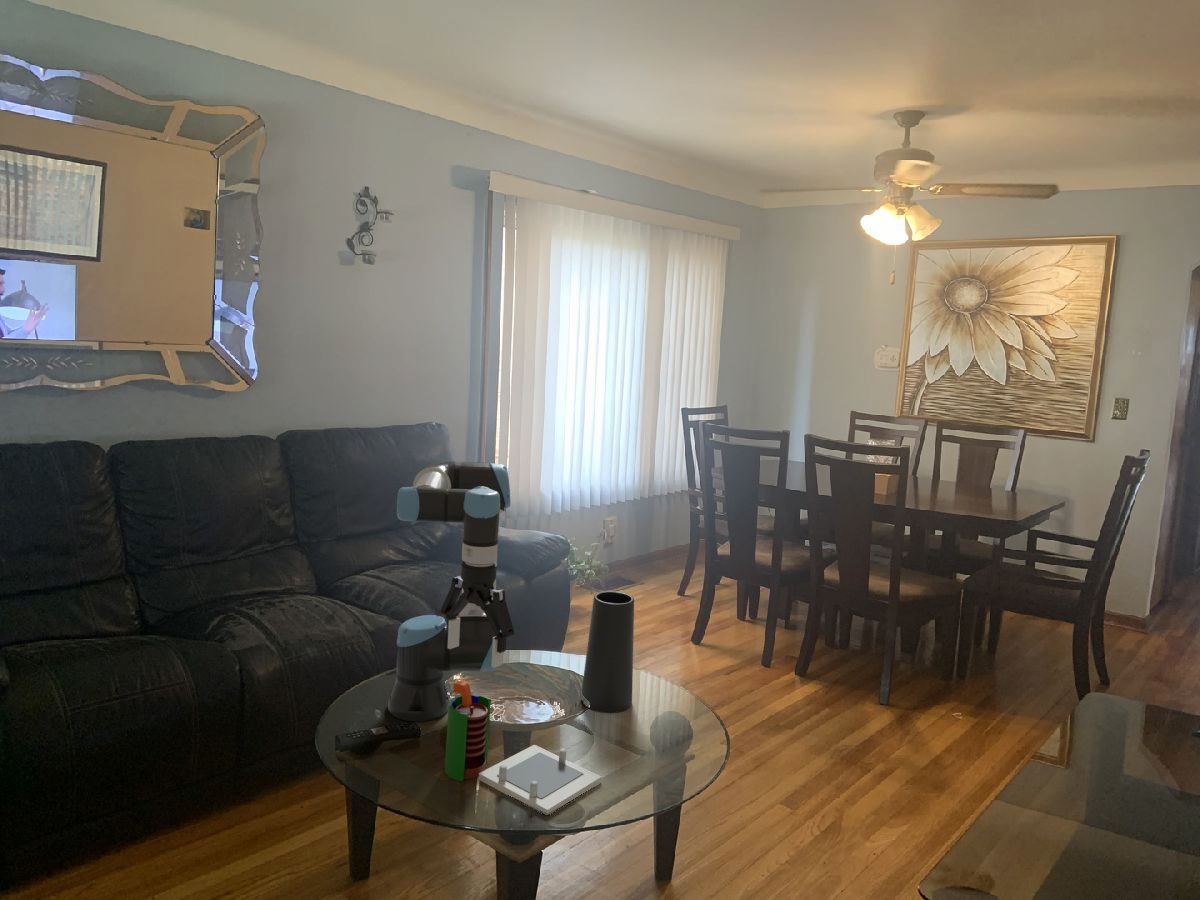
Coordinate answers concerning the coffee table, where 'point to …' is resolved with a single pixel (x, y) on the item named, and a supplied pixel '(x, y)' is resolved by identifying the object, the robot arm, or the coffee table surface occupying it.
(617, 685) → the vase
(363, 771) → the coffee table surface
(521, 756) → the mounting board
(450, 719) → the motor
